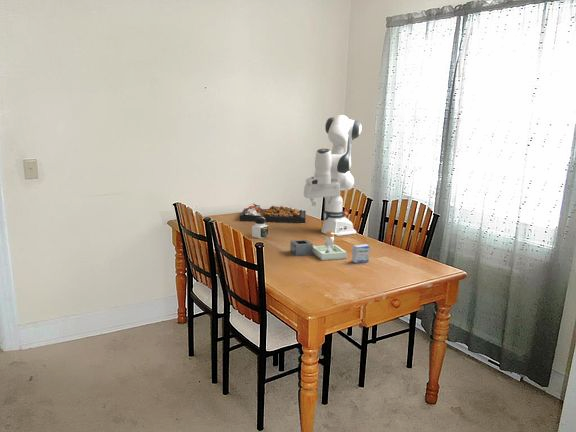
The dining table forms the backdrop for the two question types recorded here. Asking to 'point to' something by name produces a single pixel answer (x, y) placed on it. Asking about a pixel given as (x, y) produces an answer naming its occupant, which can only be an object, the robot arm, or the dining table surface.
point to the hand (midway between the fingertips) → (321, 205)
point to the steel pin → (329, 242)
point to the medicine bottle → (260, 228)
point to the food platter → (273, 214)
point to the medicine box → (360, 253)
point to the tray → (336, 254)
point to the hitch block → (301, 247)
